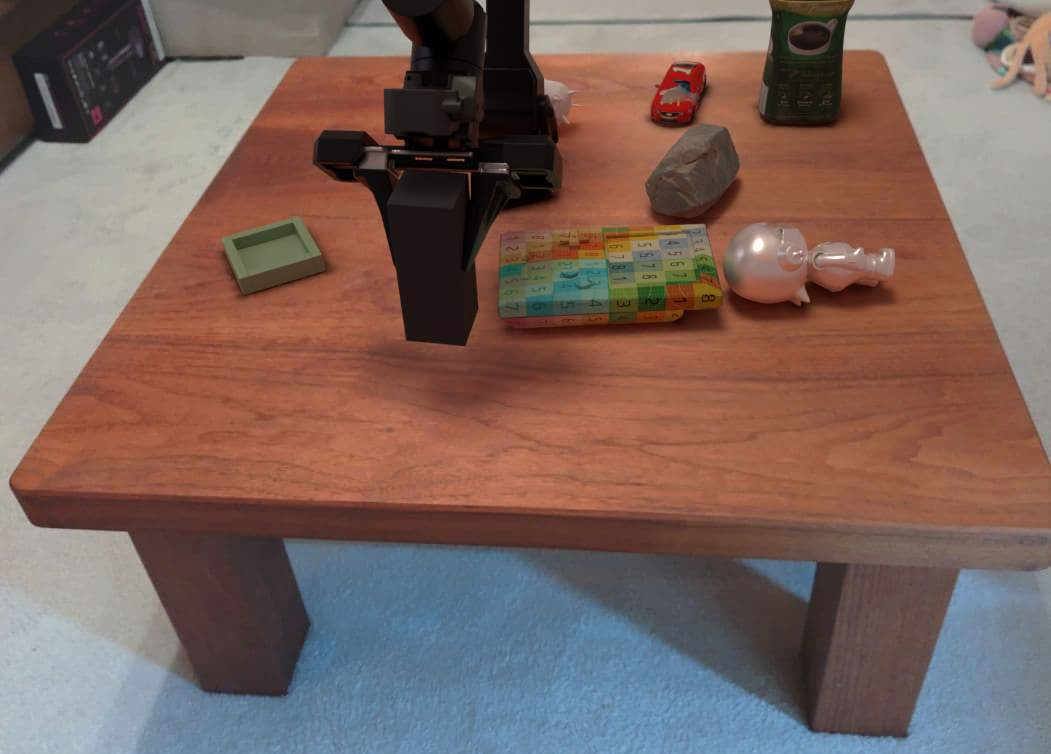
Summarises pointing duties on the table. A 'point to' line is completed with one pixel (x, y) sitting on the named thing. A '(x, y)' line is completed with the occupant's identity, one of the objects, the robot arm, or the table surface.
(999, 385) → the table surface
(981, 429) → the table surface
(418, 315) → the tall black rectangular block
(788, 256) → the figurine
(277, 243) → the green square tray
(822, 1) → the coffee jar
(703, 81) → the race car
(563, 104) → the robot toy
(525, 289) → the puzzle game
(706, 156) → the stone
